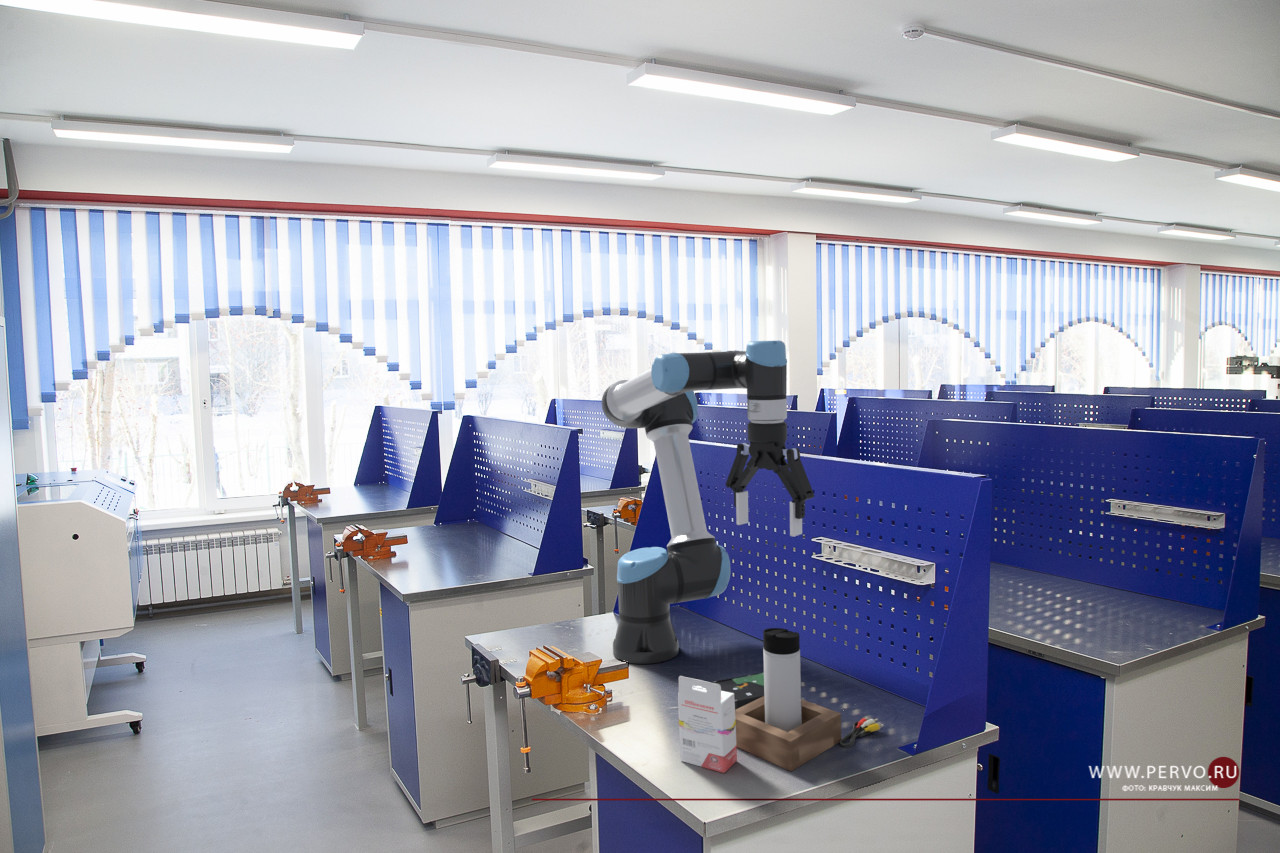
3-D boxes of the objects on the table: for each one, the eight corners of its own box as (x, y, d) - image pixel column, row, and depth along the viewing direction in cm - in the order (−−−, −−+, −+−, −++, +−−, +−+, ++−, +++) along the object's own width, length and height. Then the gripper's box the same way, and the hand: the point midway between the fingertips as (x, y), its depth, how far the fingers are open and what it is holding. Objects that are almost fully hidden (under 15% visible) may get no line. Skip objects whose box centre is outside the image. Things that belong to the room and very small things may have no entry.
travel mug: (756, 741, 137) (753, 630, 135) (781, 729, 141) (778, 620, 140) (785, 754, 132) (782, 638, 131) (809, 741, 137) (807, 629, 135)
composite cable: (847, 751, 133) (847, 737, 133) (826, 740, 137) (825, 726, 137) (885, 733, 139) (885, 720, 139) (863, 724, 143) (863, 710, 143)
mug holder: (726, 742, 137) (725, 714, 137) (777, 715, 147) (776, 690, 146) (791, 771, 127) (790, 741, 127) (841, 741, 136) (840, 713, 136)
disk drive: (723, 718, 148) (792, 702, 153) (722, 703, 148) (792, 689, 153) (701, 696, 158) (766, 682, 163) (700, 683, 158) (766, 669, 163)
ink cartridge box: (738, 760, 131) (735, 675, 130) (724, 774, 127) (721, 686, 126) (693, 748, 136) (690, 665, 135) (678, 761, 132) (675, 675, 130)
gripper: (707, 419, 159) (709, 522, 161) (807, 426, 140) (807, 543, 142) (732, 416, 164) (734, 516, 166) (832, 423, 145) (833, 536, 147)
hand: (768, 529), depth 154 cm, fingers open, 13 cm apart
